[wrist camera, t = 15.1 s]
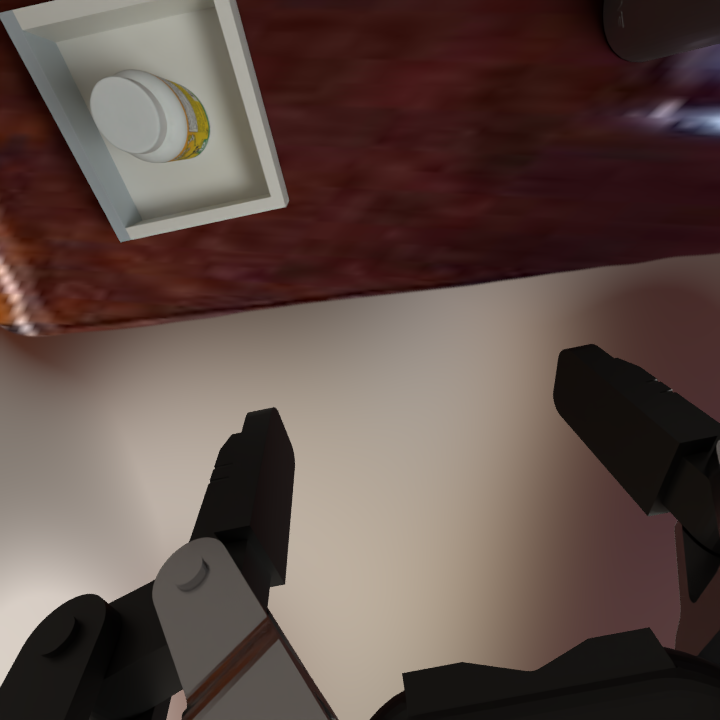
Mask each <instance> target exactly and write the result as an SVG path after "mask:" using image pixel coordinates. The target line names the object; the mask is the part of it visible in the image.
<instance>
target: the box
mask: <svg viewBox="0 0 720 720" xmlns="http://www.w3.org/2000/svg"><path fill="white" fill-rule="evenodd" d="M0 19H1V21H2V23H3V25H4V26H5V28H6V30H7V32H8V34H9V36H10V38H11V40H12V41H13V43H14V45H15V47H16V49H17V51H18V53H19V54H20V56H21V58H22V60H23V62H24V64H25V66H26V67H27V69H28V71H29V73H30V75H31V77H32V79H33V80H34V82H35V84H36V86H37V88H38V90H39V92H40V93H41V95H42V97H43V99H44V101H45V103H46V105H47V106H48V108H49V110H50V112H51V114H52V116H53V118H54V120H55V121H56V123H57V125H58V127H59V129H60V131H61V133H62V134H63V136H64V138H65V140H66V142H67V144H68V146H69V147H70V149H71V151H72V153H73V155H74V157H75V159H76V160H77V162H78V164H79V166H80V168H81V170H82V172H83V173H84V175H85V177H86V179H87V181H88V183H89V185H90V187H91V188H92V190H93V192H94V194H95V196H96V198H97V200H98V201H99V203H100V205H101V207H102V209H103V211H104V213H105V214H106V216H107V218H108V220H109V222H110V224H111V226H112V227H113V229H114V231H115V233H116V235H117V237H118V239H119V240H120V242H123V241H128V240H133V239H137V238H142V237H147V236H151V235H156V234H161V233H165V232H170V231H175V230H180V229H184V228H189V227H194V226H198V225H203V224H208V223H212V222H217V221H222V220H226V219H231V218H236V217H241V216H245V215H250V214H255V213H259V212H264V211H269V210H273V209H278V208H283V207H286V205H287V204H288V202H289V198H288V194H287V190H286V186H285V183H284V179H283V175H282V171H281V168H280V164H279V160H278V156H277V153H276V149H275V145H274V141H273V138H272V134H271V130H270V127H269V123H268V119H267V115H266V112H265V108H264V104H263V100H262V97H261V93H260V89H259V85H258V82H257V78H256V74H255V70H254V67H253V63H252V59H251V55H250V52H249V48H248V44H247V41H246V37H245V33H244V29H243V26H242V22H241V18H240V14H239V11H238V7H237V3H236V0H54V1H50V2H45V3H41V4H37V5H32V6H28V7H23V8H19V9H15V10H10V11H6V12H1V13H0ZM129 69H134V70H141V71H145V72H148V73H151V74H153V75H156V76H159V77H161V78H164V79H167V80H169V81H172V82H175V83H177V84H180V85H182V86H184V87H186V88H187V89H189V90H190V91H191V92H193V93H194V94H195V95H196V96H197V97H198V98H199V100H200V101H201V102H202V104H203V105H204V107H205V109H206V111H207V113H208V116H209V119H210V124H211V136H210V140H209V143H208V145H207V146H206V148H205V150H204V151H203V152H202V153H201V154H200V155H198V156H197V157H194V158H191V159H186V160H178V161H171V162H165V163H151V162H146V161H143V160H141V159H138V158H136V157H134V156H133V155H131V154H130V153H128V152H125V151H122V150H120V149H118V148H117V147H115V146H114V145H112V144H111V143H110V142H109V141H108V140H107V139H106V138H105V137H104V136H103V135H102V134H101V132H100V131H99V129H98V128H97V126H96V124H95V122H94V120H93V117H92V114H91V109H90V96H91V92H92V90H93V88H94V86H95V85H96V84H97V82H99V81H100V80H101V79H103V78H106V77H110V76H113V75H114V74H116V73H118V72H120V71H123V70H129Z"/></svg>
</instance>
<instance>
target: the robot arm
mask: <svg viewBox="0 0 720 720" xmlns="http://www.w3.org/2000/svg"><path fill="white" fill-rule="evenodd" d="M603 22H604V31H605V34H606V37H607V40H608V43H609V45H610V46H611V48H612V49H613V51H614V52H615V53H616V54H617V55H619V56H620V57H621V58H623V59H625V60H628V61H630V62H644V61H648V60H653V59H657V58H661V57H665V56H669V55H674V54H678V53H682V52H687V51H691V50H695V49H699V48H703V47H707V46H711V45H715V44H720V0H604V7H603ZM553 399H554V404H555V407H556V409H557V411H558V413H559V414H560V415H561V417H562V418H563V419H564V420H565V421H566V422H567V424H568V425H569V426H570V427H571V428H572V429H573V431H575V433H576V434H577V435H578V436H579V437H580V439H581V440H582V441H583V442H584V443H585V444H586V445H587V447H588V448H589V449H590V450H591V451H592V452H593V453H594V455H595V456H596V457H597V458H598V459H599V460H600V462H601V463H602V464H603V465H604V466H605V467H606V468H607V470H608V471H609V472H610V473H611V474H612V475H613V477H614V478H615V479H616V480H617V481H618V482H619V483H620V485H621V486H622V487H623V488H624V489H625V490H626V492H627V493H628V494H629V495H630V496H631V497H632V498H633V500H634V501H635V502H636V503H637V504H638V505H639V506H640V508H641V509H642V510H643V511H644V512H645V513H646V515H647V516H652V515H657V514H663V513H668V512H671V513H672V514H673V515H674V517H675V518H676V519H677V520H678V521H677V523H676V525H675V530H674V532H675V544H676V557H677V569H678V582H679V594H680V620H679V625H678V629H677V633H676V639H675V650H674V649H670V648H666V647H662V645H661V644H660V642H659V641H658V639H657V638H656V636H655V635H654V633H653V632H652V630H651V629H650V628H644V629H638V630H633V631H627V632H622V633H616V634H611V635H606V636H600V637H595V638H590V639H587V640H585V641H584V642H582V643H581V644H579V645H577V646H576V647H574V648H572V649H571V650H569V651H567V652H566V653H564V654H563V655H561V656H559V657H558V658H556V659H554V660H553V661H551V662H549V663H548V664H546V665H545V666H543V667H541V668H540V669H538V670H535V671H521V670H514V669H507V668H500V667H493V666H486V665H478V664H472V663H464V662H461V663H455V664H450V665H444V666H439V667H434V668H428V669H423V670H418V671H412V672H407V673H402V676H403V682H404V689H405V690H404V691H403V692H401V693H399V694H397V695H396V696H394V697H393V698H391V699H390V700H389V701H388V702H387V703H385V704H384V705H383V706H382V707H381V708H380V709H379V710H378V711H377V712H376V713H375V714H374V715H373V716H372V718H371V719H370V720H720V423H718V422H717V421H715V420H714V419H713V418H711V417H710V416H709V415H707V414H706V413H704V412H703V411H702V410H700V409H699V408H697V407H696V406H694V405H693V404H692V403H690V402H689V401H687V400H686V399H684V398H683V397H682V396H680V395H679V394H678V393H673V392H672V389H671V388H669V387H668V386H666V385H665V384H663V383H662V382H658V381H657V379H656V378H655V377H654V376H652V375H651V374H649V373H648V372H646V371H645V370H644V369H642V368H641V367H639V366H637V365H634V364H632V363H629V362H627V361H624V360H621V359H619V358H613V357H612V356H610V355H609V354H608V353H606V352H605V351H604V350H602V349H601V348H599V347H598V346H596V345H594V344H589V345H584V346H579V347H574V348H569V349H564V350H562V351H561V352H560V354H559V358H558V364H557V371H556V378H555V384H554V391H553ZM214 467H215V469H214V470H213V473H212V476H211V478H210V484H209V485H208V487H207V491H206V494H205V496H204V499H203V503H202V505H201V509H200V511H199V514H198V517H197V521H196V524H195V527H194V529H193V532H192V536H191V538H190V541H189V543H187V544H185V545H184V546H182V547H181V548H179V549H178V550H177V551H176V552H175V553H173V554H172V556H171V557H170V558H169V559H168V560H167V561H166V562H165V563H164V565H163V566H162V568H161V569H160V571H159V573H158V575H157V577H156V579H155V580H153V581H152V582H150V583H148V584H146V585H144V586H142V587H140V588H138V589H137V590H134V591H133V592H130V593H129V594H127V595H125V596H123V597H121V598H119V599H117V600H115V601H113V602H111V603H109V604H108V603H107V602H106V601H105V600H103V599H102V598H101V597H100V596H98V595H95V594H85V595H81V596H78V597H75V598H73V599H71V600H69V601H67V602H66V603H64V604H62V605H61V606H60V607H58V608H57V609H55V610H54V611H53V612H52V613H51V614H49V615H48V616H47V617H46V618H45V619H44V620H43V621H42V622H41V623H40V624H39V625H38V626H37V628H36V629H35V630H34V631H33V632H32V634H31V635H30V636H29V638H28V639H27V641H26V642H25V644H24V645H23V647H22V649H21V651H20V652H19V654H18V656H17V658H16V660H15V662H14V663H13V665H12V667H11V669H10V671H9V672H8V674H7V676H6V678H5V680H4V682H3V683H2V685H1V687H0V720H166V718H167V713H168V709H169V704H170V700H171V696H172V695H174V694H176V693H177V692H179V691H181V690H182V689H183V690H184V693H185V696H186V700H187V709H186V710H185V711H184V712H183V714H182V720H338V718H337V716H336V715H335V713H334V712H333V710H332V709H331V707H330V705H329V704H328V703H327V701H326V699H325V698H324V696H323V695H322V693H321V692H320V690H319V689H318V687H317V686H316V684H315V683H314V681H313V679H312V678H311V676H310V675H309V673H308V671H307V670H306V668H305V667H304V665H303V663H302V662H301V660H300V659H299V657H298V655H297V654H296V652H295V651H294V649H293V648H292V646H291V645H290V643H289V641H288V640H287V638H286V636H285V635H284V633H283V632H282V630H281V628H280V627H279V625H278V623H277V622H276V620H275V619H274V617H273V615H272V614H271V612H270V611H269V609H268V608H267V606H268V597H269V589H270V587H273V586H279V585H284V584H285V578H286V566H287V554H288V542H289V530H290V518H291V507H292V495H293V483H294V471H295V458H294V452H293V448H292V445H291V442H290V440H289V437H288V435H287V432H286V430H285V427H284V425H283V422H282V420H281V417H280V415H279V412H278V410H277V409H276V408H274V407H273V408H268V409H263V410H258V411H253V412H249V413H247V415H246V418H245V422H244V425H243V429H242V432H241V433H237V434H232V435H231V436H230V438H229V439H228V440H227V442H226V443H225V444H224V445H223V447H222V448H221V449H220V451H219V454H218V457H217V460H216V463H215V466H214Z"/></svg>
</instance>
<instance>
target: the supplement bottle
mask: <svg viewBox="0 0 720 720" xmlns="http://www.w3.org/2000/svg"><path fill="white" fill-rule="evenodd" d="M90 109H91V114H92V117H93V120H94V122H95V124H96V126H97V128H98V129H99V131H100V132H101V134H102V135H103V136H104V137H105V138H106V139H107V140H108V141H109V142H110V143H111V144H112V145H114V146H115V147H117V148H118V149H120V150H122V151H125V152H128V153H130V154H131V155H133V156H134V157H136V158H138V159H141V160H143V161H146V162H151V163H165V162H171V161H178V160H186V159H191V158H194V157H197V156H198V155H200V154H201V153H202V152H203V151H204V150H205V148H206V146H207V145H208V143H209V140H210V136H211V124H210V119H209V116H208V113H207V111H206V109H205V107H204V105H203V104H202V102H201V101H200V100H199V98H198V97H197V96H196V95H195V94H194V93H193V92H191V91H190V90H189V89H187V88H186V87H184V86H182V85H180V84H177V83H175V82H172V81H169V80H167V79H164V78H161V77H159V76H156V75H153V74H151V73H148V72H145V71H141V70H134V69H129V70H123V71H120V72H118V73H116V74H114V75H113V76H110V77H106V78H103V79H101V80H100V81H99V82H97V84H96V85H95V86H94V88H93V90H92V92H91V96H90Z"/></svg>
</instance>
